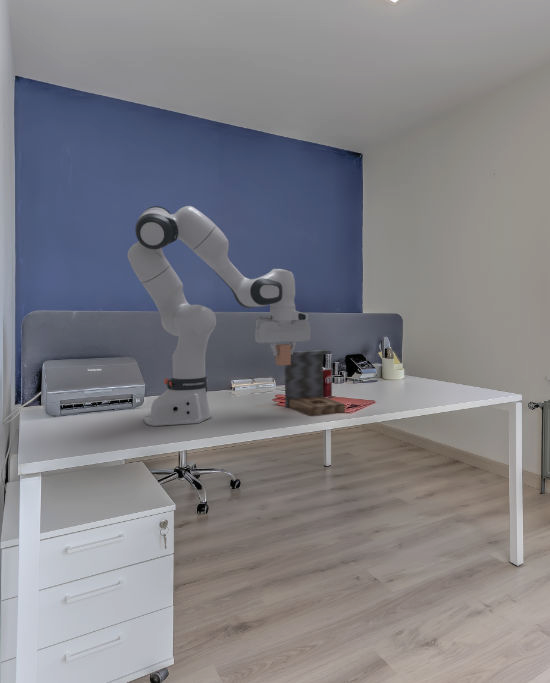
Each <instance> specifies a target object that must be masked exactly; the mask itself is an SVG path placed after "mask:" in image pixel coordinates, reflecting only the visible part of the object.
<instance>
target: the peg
mask: <svg viewBox="0 0 550 683" xmlns="http://www.w3.org/2000/svg"><path fill="white" fill-rule="evenodd" d="M275 348H276V349H277V350H279V355H278V356H275V365H278V366H285V365H291V345H290V344H287V343H283V344H281V343H280V344H277V343H276V346H275Z"/></svg>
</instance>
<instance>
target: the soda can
mask: <svg viewBox="0 0 550 683" xmlns="http://www.w3.org/2000/svg"><path fill="white" fill-rule="evenodd" d="M332 396H333V369H332V368H330V367H323V397H330V398H331V397H332Z"/></svg>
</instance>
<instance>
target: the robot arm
mask: <svg viewBox="0 0 550 683" xmlns="http://www.w3.org/2000/svg"><path fill="white" fill-rule="evenodd" d="M134 230H135V236H136V239H137V242H135V243H134V244H133V245H131V247H130V248H129V249H128V251H127V259H128V261H129V264H130V267H131V268H132V270H133V272H134V273H135V276H136V277H137V278H138V280H139V282H140V283H141V284H142V286H143V288H144V289H145V290H146V292H147V293H148V294H149V296H150V297H151V299H152V300H153V302H154V304H155V306H156V308H157V310H158V313H159V315H160V318H161V319H160V320H161V322H160V323H161V325H162V328H163V329H164V331H166V332H167V333H169V334H170V335H173V336H174V337H178V340H177V345H176V349H175V351H174V352H173V353H172V357H171V358H172V377H171V378H164V380H163V383H164V384H165V385H167V389H166V390H164V392H162V393H161V394H160V395H159V396H157V398H155V399H154V400H153V401H152V403H151V408H150V414H146V415H145V416H144V417H143V418H144V420H143V421H144V423H145V424H146V425H149V426H152V427H153V426H154V427H158V426H161V427H162V426H174V425H188V424H199V423H201V422H203V421H205V420H208V419H210V418H211V417H212V414H211V411H210V408H209V407H210V406H209V402H208V394H207V393H208V378H207V376H206V353H207V347H208V342H209V338H210V336H211V334H212V333H213V331H214V330H216V329H215V328H216V326H217V317H216V314H215V312H214V311H213V310H212V309H211V308H208V307H206V306H205V305H201V304H190V303H189V302H188V301H187V299H186V296H185V293H184V284H183V281H181V279H180V277H179V275H178V274H177V273H176V271H175V270H174V268H173V267H172V265H171V262H169V261H168V259H167V257H166V256H165V254H164V251H163V248H165V247H166V246H168V245H170V244H172V243H174V242H176V241H177V240H179V241H181V242H183V243H184V244H185V245H186V246H187V247H188V248H189V249H190V251H192V252H193V253H194V254H195V255H196V256H197V257H199V259H201V260H202V261H204V263H206V264H207V265H208V266H209V267H210V268H211V269H212V271H214V273H215V274H216V275H217V276H218V277H219V278H220V279H221V280H222V281H223V283H225V285H226V286H228V288H229V289H230V290H231V292H232V294H233V297H234V299H235V301H236V302H237V304H238V305H240V306H241V307H242V308H245V309H251V308H258V307H266V306H268V305H269V312H270V313H269V315H264V316H263V315H260V316H258V317H257V318H256V319H255V321H254V322H255V324H254V327H255V332H254V333H255V334H254V341H255V342H256V343H257V344H269V346H270V349H271V350H272V351H273V352H272V354H273V355H272V356H275V357H276V356H278V355H279V350H277V349H276V345H277V343H289V345H291V355H293V351H294V349H295V347H296V345H297V342H299V343H300V342H309V341H310V339H311V326H310V322H308V320H309V314H307V313H303V312H300V311H298V310H297V309H296V303H295V297H296V283H295V282H296V281H295V276H294V274H293V272H292V271H290V270H289V269H285V268H280V267H279V268H278V267H277V268H276V267H275V268H273V269H271V271H269V272H268V273H266V274H264V275H261V276H259V277H257V278H256V277H255V278H252V279H251V278H248V277H245V276H244V275H243V274H242V273H241V271H239V269H238V268H237V267H236V266H235V265H234V264H233V263H232V262H231V261H230V258H229V256H228V253H229V248H230V247H229V244H230V243H229V239H228V238H227V237H226V235H225V234H224V232H223V231H222V230H221V229H220V228H219V227H218V226H217V225H216V223H214V222H213V221H212V220H211V219H210V218H209V217H208V216H206V215H205V213H202V212H201V211H200V210H198V209H197V208H195V207H194V206H193V205H192V206H191V205H186V206H183V207H181V208H179V209H178V210H177V211H176V212H175V213H171V212H170V211H169V210H168V209H167V208H164V207H162V206H158V205H155V206H150V207H147V209H145V210H144V211H143V212H142V213H141V214H140V215H139V216H138V220H137V221H136V224H135V228H134Z"/></svg>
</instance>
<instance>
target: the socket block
mask: <svg viewBox="0 0 550 683" xmlns="http://www.w3.org/2000/svg"><path fill="white" fill-rule="evenodd" d="M330 354H331V355H332V350H330V349H315V350H313V349H312V350H298V351H296V350H295V351H294V350H293V355H291V365H284V406H285V407H286V408H291V409H293V410H295V411H298V412H300V413H302V414H304V415H308V416H310V417H314V416H321V415H331V414H339V413H346V410H345V408H346V407H345V406H346V404H345V403H344V402H340V401H337V400H335V399H331V398H326V397H323V368H324V355H330Z"/></svg>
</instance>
